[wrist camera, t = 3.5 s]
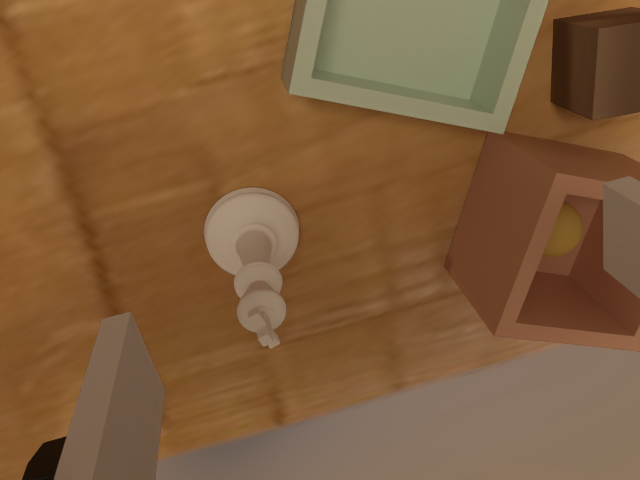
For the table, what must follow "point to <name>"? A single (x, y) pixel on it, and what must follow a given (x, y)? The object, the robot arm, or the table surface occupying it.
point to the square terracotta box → (542, 245)
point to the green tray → (414, 56)
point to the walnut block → (597, 63)
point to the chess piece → (254, 253)
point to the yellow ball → (565, 232)
